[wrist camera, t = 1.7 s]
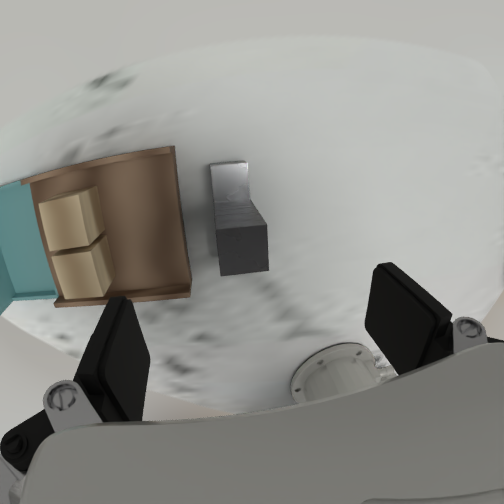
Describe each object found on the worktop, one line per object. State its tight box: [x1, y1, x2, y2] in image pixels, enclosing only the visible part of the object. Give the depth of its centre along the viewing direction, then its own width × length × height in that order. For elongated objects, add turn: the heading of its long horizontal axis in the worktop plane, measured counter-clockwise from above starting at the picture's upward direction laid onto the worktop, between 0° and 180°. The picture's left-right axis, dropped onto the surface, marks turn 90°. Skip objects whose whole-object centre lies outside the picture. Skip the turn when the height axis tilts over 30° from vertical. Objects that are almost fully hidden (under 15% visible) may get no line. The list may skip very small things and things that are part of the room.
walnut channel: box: [20, 146, 192, 308], centre depth 24 cm, size 14×13×4 cm
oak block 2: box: [52, 235, 116, 299], centre depth 22 cm, size 4×4×4 cm
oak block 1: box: [39, 186, 105, 251], centre depth 21 cm, size 4×4×4 cm
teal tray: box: [0, 178, 59, 315], centre depth 22 cm, size 8×13×5 cm, turn 4°
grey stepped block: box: [210, 161, 269, 276], centre depth 22 cm, size 3×9×10 cm, turn 4°
